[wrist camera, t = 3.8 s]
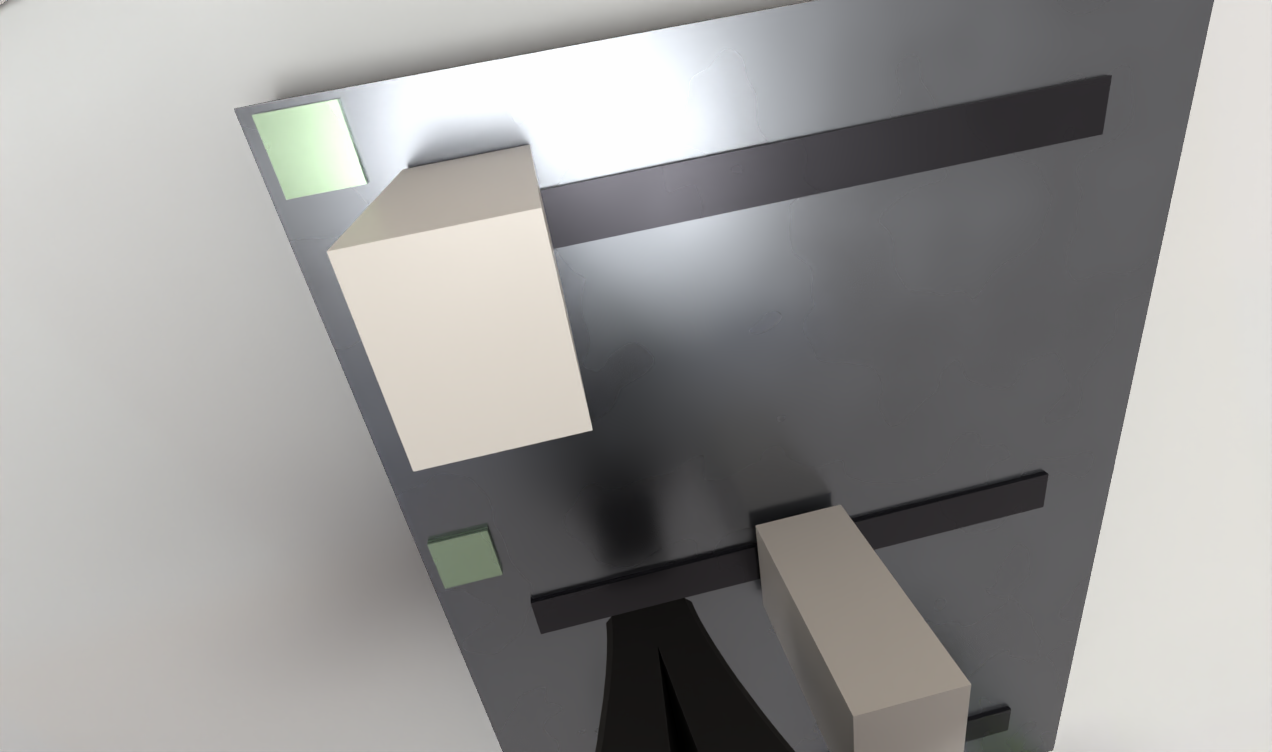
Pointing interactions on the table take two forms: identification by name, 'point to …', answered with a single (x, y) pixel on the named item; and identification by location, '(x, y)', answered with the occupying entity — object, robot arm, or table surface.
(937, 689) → the handle
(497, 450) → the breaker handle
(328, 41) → the table surface
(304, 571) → the table surface
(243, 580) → the table surface
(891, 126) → the panel
